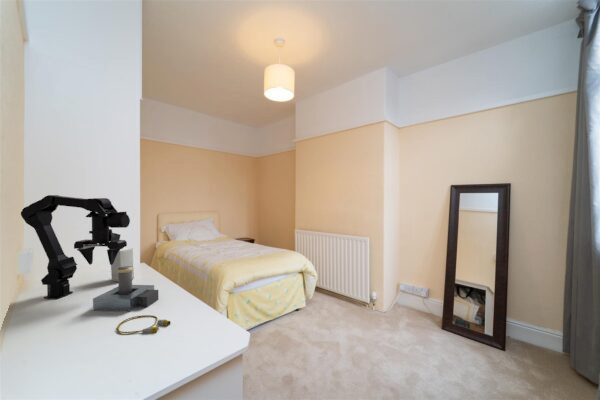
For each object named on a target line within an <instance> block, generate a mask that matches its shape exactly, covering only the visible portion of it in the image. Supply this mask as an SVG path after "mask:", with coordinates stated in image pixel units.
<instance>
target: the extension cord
mask: <svg viewBox="0 0 600 400" xmlns="http://www.w3.org/2000/svg"><path fill="white" fill-rule="evenodd" d="M154 317H155V321H154V324H152V325H151V326H149V327H145V328H143V329H141V330H133V331H121V330H120V327H121V326H122V325H123V324H124V323H127V322H128V321H131V320H134V319H138V318H139V319H140V318H154ZM156 324H158V325H160V326H163V327H165V326H166V327H167V326H169V325H171V321H170V320H167V319H164V318H163V319H158V317H157V316H156V315H150V314H149V315H147V314H146V315H144V314H143V315H136V316H131V317H129V318H126V319H124V320H122V321H121V322H119V324H118V325H117V327H116V329H117V333H118V335H125V336H126V335H127V336H128V335H132V334H138V333H141V332H142V333H143V334H155V333H157V332H158V331H159V329H160V328H159V326H155V325H156Z"/></svg>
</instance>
